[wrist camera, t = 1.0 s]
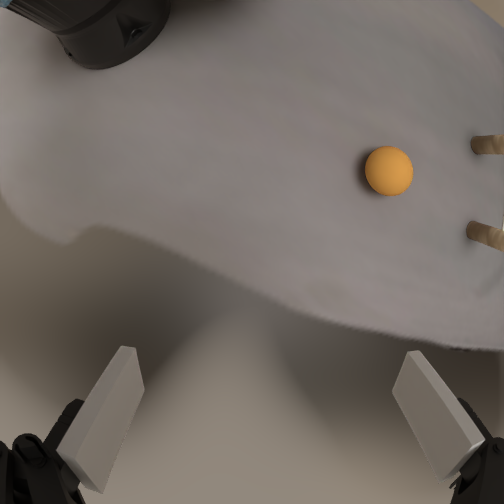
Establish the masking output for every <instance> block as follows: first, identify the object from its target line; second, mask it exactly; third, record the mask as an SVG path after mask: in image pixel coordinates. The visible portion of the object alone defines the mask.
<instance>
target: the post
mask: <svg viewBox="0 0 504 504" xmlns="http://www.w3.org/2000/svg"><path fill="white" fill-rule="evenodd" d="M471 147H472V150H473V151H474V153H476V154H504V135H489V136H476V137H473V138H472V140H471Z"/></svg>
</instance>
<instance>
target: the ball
mask: <svg viewBox="0 0 504 504" xmlns="http://www.w3.org/2000/svg"><path fill="white" fill-rule="evenodd" d="M365 174H366V178H367V180H368V182H369V184H370V185H371V187H372V188H373V189H374V190H375V191H377V192H378V193H380V194H383V195H386V196H396V195H399V194H401V193H403V192H404V191H406V190H407V188H408V187H409V186H410V184H411V182H412V179H413V167H412V164H411V161H410V159H409V158H408V156H407V155H406V154H405V153H404V152H403V151H401V150H400V149H398V148H395V147H391V146H384V147H380V148H377V149H376V150H374V151H373V152H372V153H371V154H370V155H369V157H368V159H367V161H366V165H365Z"/></svg>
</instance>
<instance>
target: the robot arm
mask: <svg viewBox="0 0 504 504" xmlns="http://www.w3.org/2000/svg"><path fill="white" fill-rule="evenodd" d="M0 7H3V8H7V9H9V10H11V11H13V12H15V13H17V14H19V15H21V16H23V17H25V18H27V19H29V20H31V21H33V22H35V23H37V24H38V25H40V26H42V27H44V28H46V29H48V30H50V31H51V32H53V33H55V34H56V36H57V38H58V40H59V42H60V43H61V45H62V46H63V47H64V50H65V52H66V54H67V55H68V57H69V58H70V59H72V60H73V61H74V62H76V63H78V64H80V65H82V66H83V67H86V68H90V69H103V68H108V67H112V66H115V65H118V64H120V63H122V62H124V61H126V60H128V59H130V58H132V57H133V56H135V55H136V54H138V53H139V52H141V51H142V50H143V49H144V48H146V47H147V46H148V45H149V44H150V43H151V42H152V41H153V40H154V39H155V38H156V37H157V35H158V34H159V33H160V31H161V30H162V28H163V27H164V25H165V23H166V21H167V19H168V16H169V13H170V0H0ZM143 393H144V385H143V381H142V377H141V372H140V368H139V363H138V358H137V353H136V348H133V347H126V346H121V347H120V348H119V350H118V351H117V352H116V354H115V355H114V357H113V358H112V360H111V361H110V363H109V365H108V366H107V368H106V369H105V371H104V372H103V374H102V375H101V377H100V379H99V380H98V382H97V383H96V385H95V386H94V388H93V389H92V391H91V393H90V394H89V396H88V397H87V399H86V401H83V400H79V399H75V400H74V401H72V402H71V403H69V404H68V405H67V406H66V408H65V409H64V411H63V412H62V415H60V417H59V418H58V421H57V422H56V423H55V425H54V426H53V428H52V430H51V431H50V433H49V434H48V436H47V438H46V439H45V441H44V442H43V443H42V441H41V440H40V439H39V438H38V437H37V436H36V435H33V434H29V433H28V434H22V435H19V436H18V437H17V438H16V439H15V440H14V442H13V444H12V445H13V446H12V450H10V449H8V447H7V446H6V445H5V444H4V443H3V442H2V441H0V504H85V501H84V499H83V497H82V495H81V493H80V490H79V489H78V485H79V483H80V482H81V483H82V484H83V485H84V486H85V487H86V488H88V489H90V490H93V491H96V492H99V493H101V494H103V491H104V489H105V486H106V483H107V481H108V478H109V476H110V473H111V470H112V468H113V465H114V462H115V460H116V458H117V455H118V453H119V450H120V447H121V445H122V443H123V440H124V438H125V435H126V433H127V430H128V428H129V426H130V423H131V421H132V418H133V416H134V414H135V411H136V409H137V407H138V404H139V402H140V400H141V397H142V395H143ZM392 393H393V395H394V397H395V399H396V401H397V402H398V404H399V406H400V408H401V410H402V412H403V413H404V415H405V417H406V419H407V421H408V423H409V425H410V427H411V429H412V430H413V432H414V434H415V436H416V438H417V440H418V442H419V444H420V446H421V448H422V450H423V452H424V454H425V456H426V458H427V460H428V462H429V464H430V466H431V468H432V470H433V472H434V474H435V476H436V479H437V481H438V483H441V482H444V481H446V480H448V479H450V478H452V477H453V476H454V475H455V474H456V473H457V472H458V471H460V473H461V475H460V476H459V477H458V478H457V479H456V480H455V481H454V482H453V483H452V484H451V485H450V487H449V488H450V489H451V488H452V487H453V486H454V485H455V484H456V487H455V488H454V489H455V490H454V494H453V497H452V500H451V503H450V504H504V439H503V438H500V437H499V438H498V437H496V438H493V437H492V436H491V434H490V433H489V432H488V430H487V429H486V427H485V426H484V425H483V423H482V422H481V420H480V419H479V418H477V415H476V413H475V412H473V409H472V408H471V407H470V406H469V404H468V403H467V402H466V401H464V400H463V399H461V398H457V399H456V397H455V396H454V395H453V393H452V392H451V391H450V389H449V388H448V387H447V385H446V384H445V383H444V381H443V380H442V379H441V378H440V376H439V375H438V374H437V372H436V371H435V370H434V368H433V367H432V366H431V365H430V363H429V362H428V361H427V360H426V358H425V357H424V356H423V355H422V353H421V352H420V351H411V352H407V355H406V357H405V360H404V363H403V365H402V368H401V370H400V373H399V375H398V378H397V380H396V383H395V385H394V388H393V390H392Z"/></svg>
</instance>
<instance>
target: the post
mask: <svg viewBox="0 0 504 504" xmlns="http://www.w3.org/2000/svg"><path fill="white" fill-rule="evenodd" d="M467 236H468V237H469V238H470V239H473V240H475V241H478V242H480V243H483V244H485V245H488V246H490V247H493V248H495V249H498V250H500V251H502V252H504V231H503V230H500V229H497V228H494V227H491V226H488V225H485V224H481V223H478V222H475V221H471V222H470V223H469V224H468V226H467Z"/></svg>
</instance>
